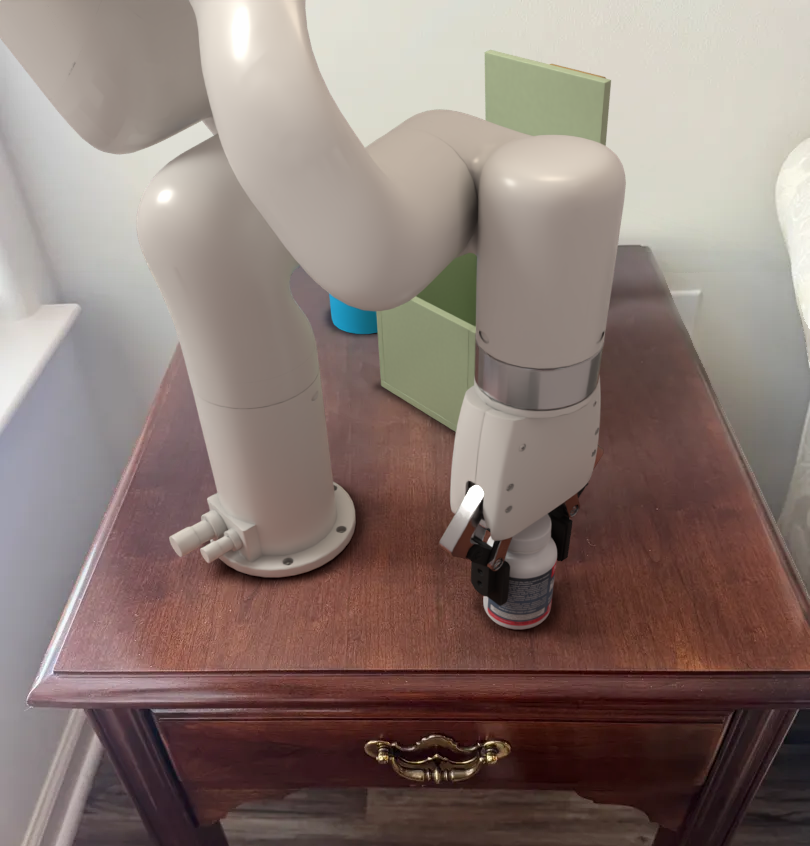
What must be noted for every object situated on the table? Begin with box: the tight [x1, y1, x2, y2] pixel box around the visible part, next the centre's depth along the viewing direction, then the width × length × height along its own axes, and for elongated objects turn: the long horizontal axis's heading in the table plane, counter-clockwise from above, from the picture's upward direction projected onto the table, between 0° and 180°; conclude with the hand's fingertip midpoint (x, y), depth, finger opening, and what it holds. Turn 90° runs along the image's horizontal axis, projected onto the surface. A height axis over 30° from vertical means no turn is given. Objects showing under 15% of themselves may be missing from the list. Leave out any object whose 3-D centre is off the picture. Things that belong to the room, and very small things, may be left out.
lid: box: [484, 49, 612, 147], centre depth 79 cm, size 16×14×5 cm
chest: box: [376, 253, 477, 433], centre depth 85 cm, size 16×14×12 cm
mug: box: [328, 293, 378, 335], centre depth 97 cm, size 12×8×8 cm
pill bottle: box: [482, 514, 558, 630], centre depth 63 cm, size 5×5×9 cm
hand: (519, 570), depth 64 cm, fingers open, 5 cm apart
